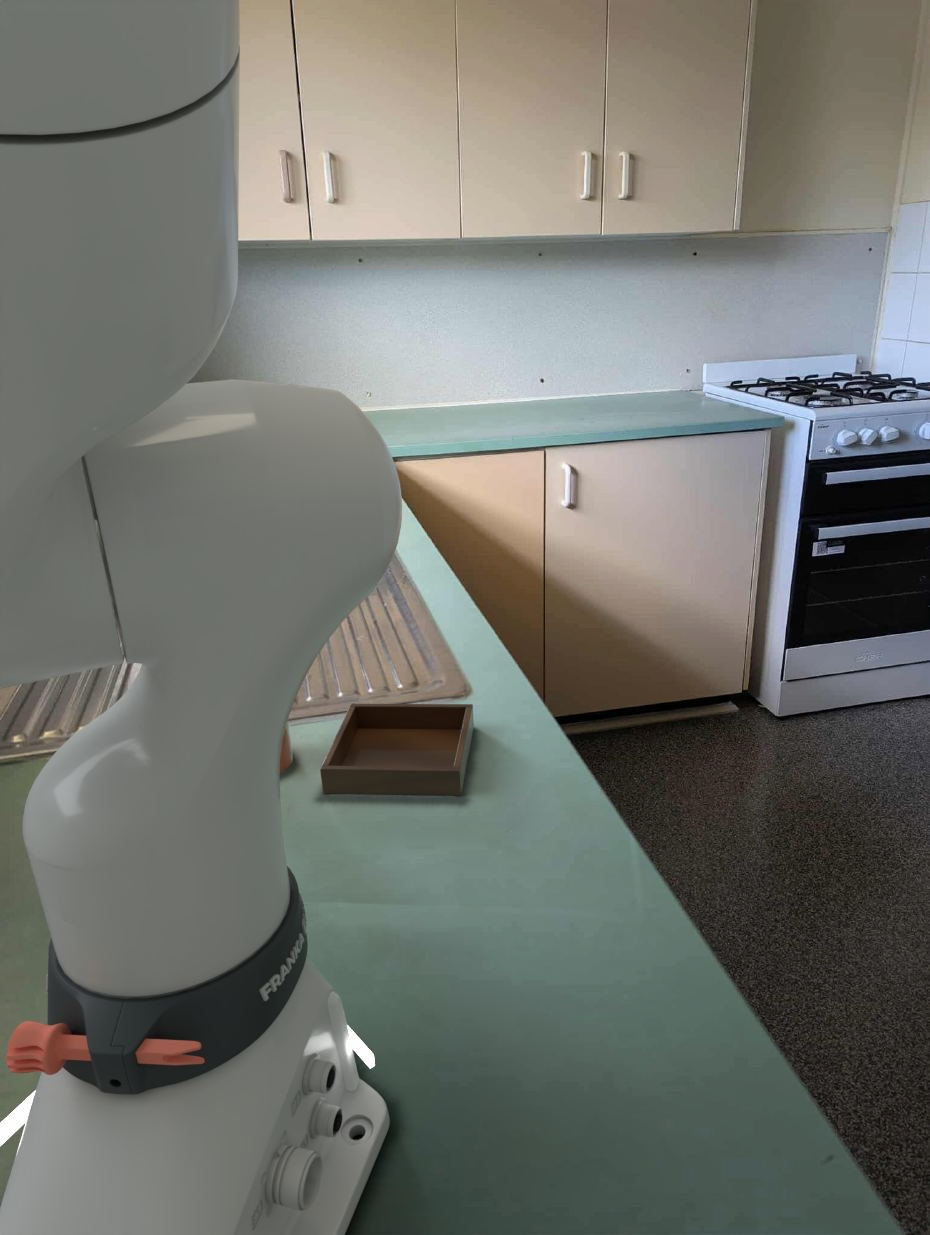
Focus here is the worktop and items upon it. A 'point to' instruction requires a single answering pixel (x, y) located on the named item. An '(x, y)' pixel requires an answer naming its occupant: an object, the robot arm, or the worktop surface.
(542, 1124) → the worktop surface
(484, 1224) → the worktop surface
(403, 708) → the tray
